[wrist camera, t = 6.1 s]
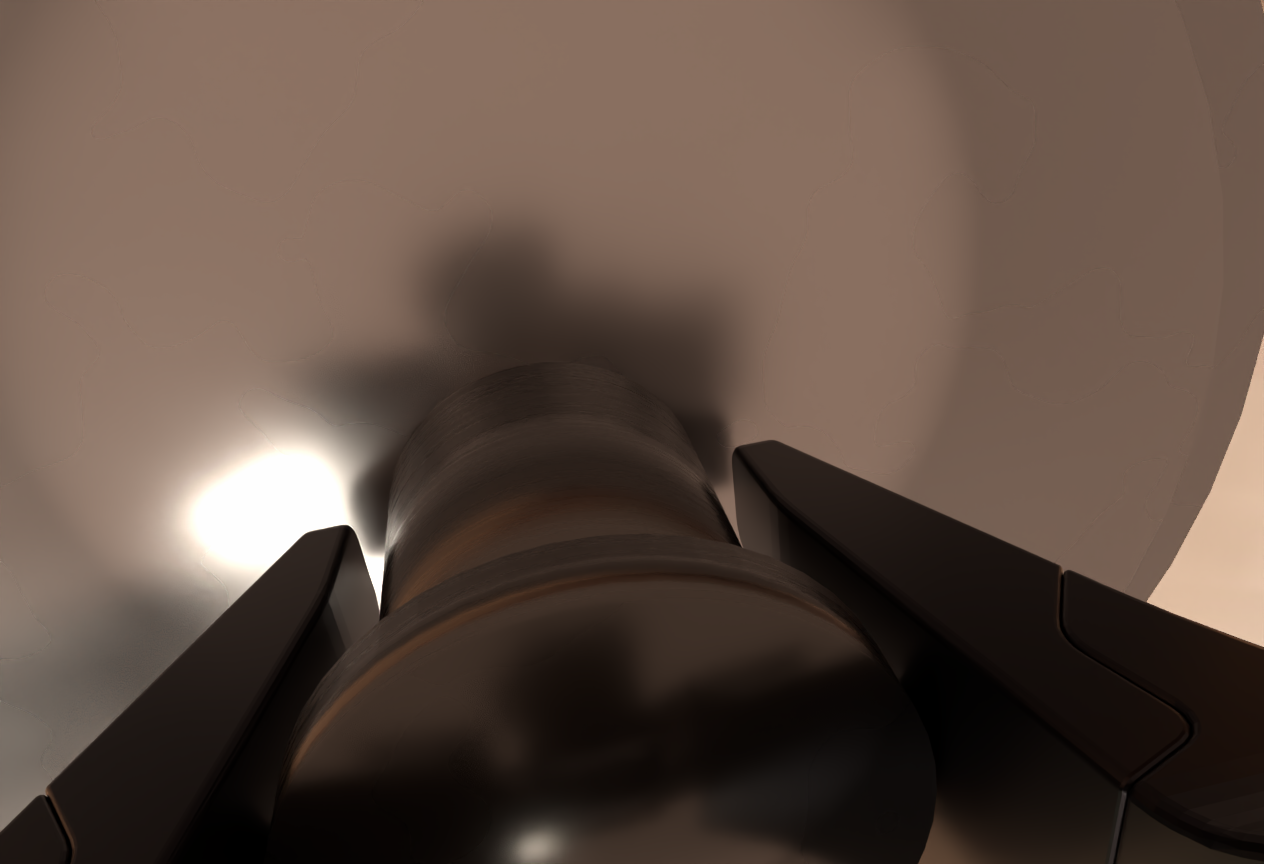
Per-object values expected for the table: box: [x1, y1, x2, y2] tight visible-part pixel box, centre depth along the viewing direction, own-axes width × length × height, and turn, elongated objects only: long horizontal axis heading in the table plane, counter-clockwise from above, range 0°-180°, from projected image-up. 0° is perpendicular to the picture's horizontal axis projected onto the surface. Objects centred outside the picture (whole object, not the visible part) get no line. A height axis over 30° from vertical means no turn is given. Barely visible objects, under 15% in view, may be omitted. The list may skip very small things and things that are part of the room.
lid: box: [0, 0, 1264, 864], centre depth 8 cm, size 16×16×5 cm
